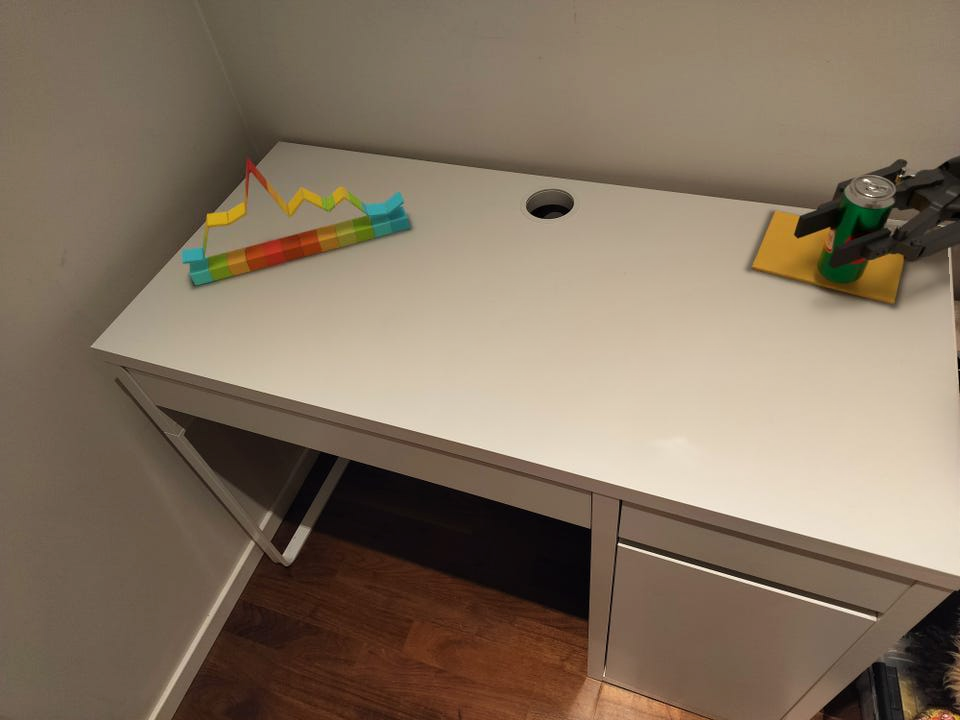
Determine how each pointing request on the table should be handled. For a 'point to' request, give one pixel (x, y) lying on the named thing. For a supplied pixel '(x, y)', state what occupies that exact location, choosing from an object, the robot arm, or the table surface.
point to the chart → (298, 243)
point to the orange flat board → (801, 257)
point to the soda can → (856, 223)
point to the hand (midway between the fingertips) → (816, 242)
